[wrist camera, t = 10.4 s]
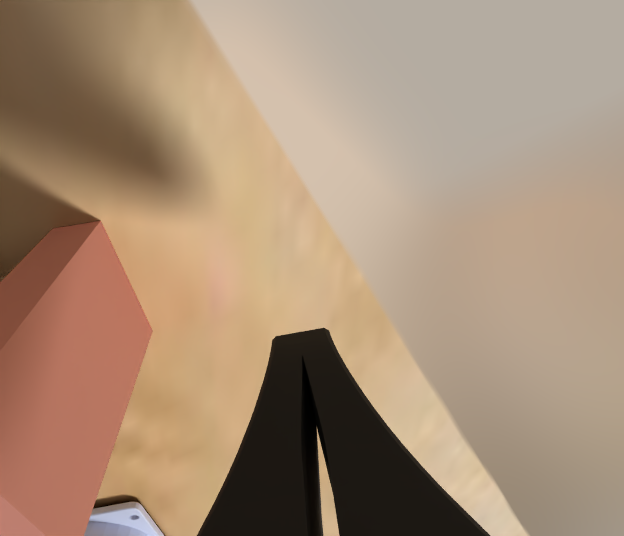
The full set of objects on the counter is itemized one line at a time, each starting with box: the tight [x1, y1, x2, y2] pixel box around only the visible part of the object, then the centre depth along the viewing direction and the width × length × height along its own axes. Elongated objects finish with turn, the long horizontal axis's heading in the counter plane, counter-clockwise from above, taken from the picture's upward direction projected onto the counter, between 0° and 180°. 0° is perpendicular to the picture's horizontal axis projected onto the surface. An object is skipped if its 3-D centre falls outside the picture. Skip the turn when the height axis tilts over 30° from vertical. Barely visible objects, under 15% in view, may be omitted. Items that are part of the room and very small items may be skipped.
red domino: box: [0, 221, 152, 536], centre depth 11 cm, size 2×5×8 cm, turn 7°
